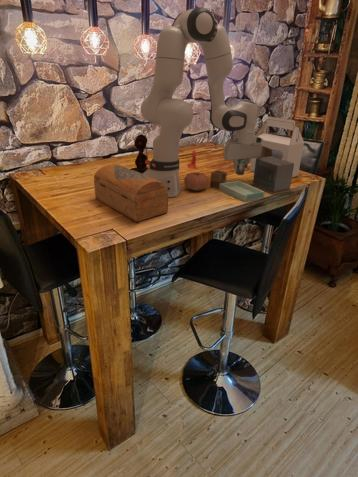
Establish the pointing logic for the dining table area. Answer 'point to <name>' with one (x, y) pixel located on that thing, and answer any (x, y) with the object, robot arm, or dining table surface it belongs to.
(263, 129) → the gable box
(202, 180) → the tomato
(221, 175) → the walnut block
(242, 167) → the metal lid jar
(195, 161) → the bracket
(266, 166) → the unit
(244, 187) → the tray
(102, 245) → the dining table surface
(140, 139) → the dark statuette
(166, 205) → the wooden box
